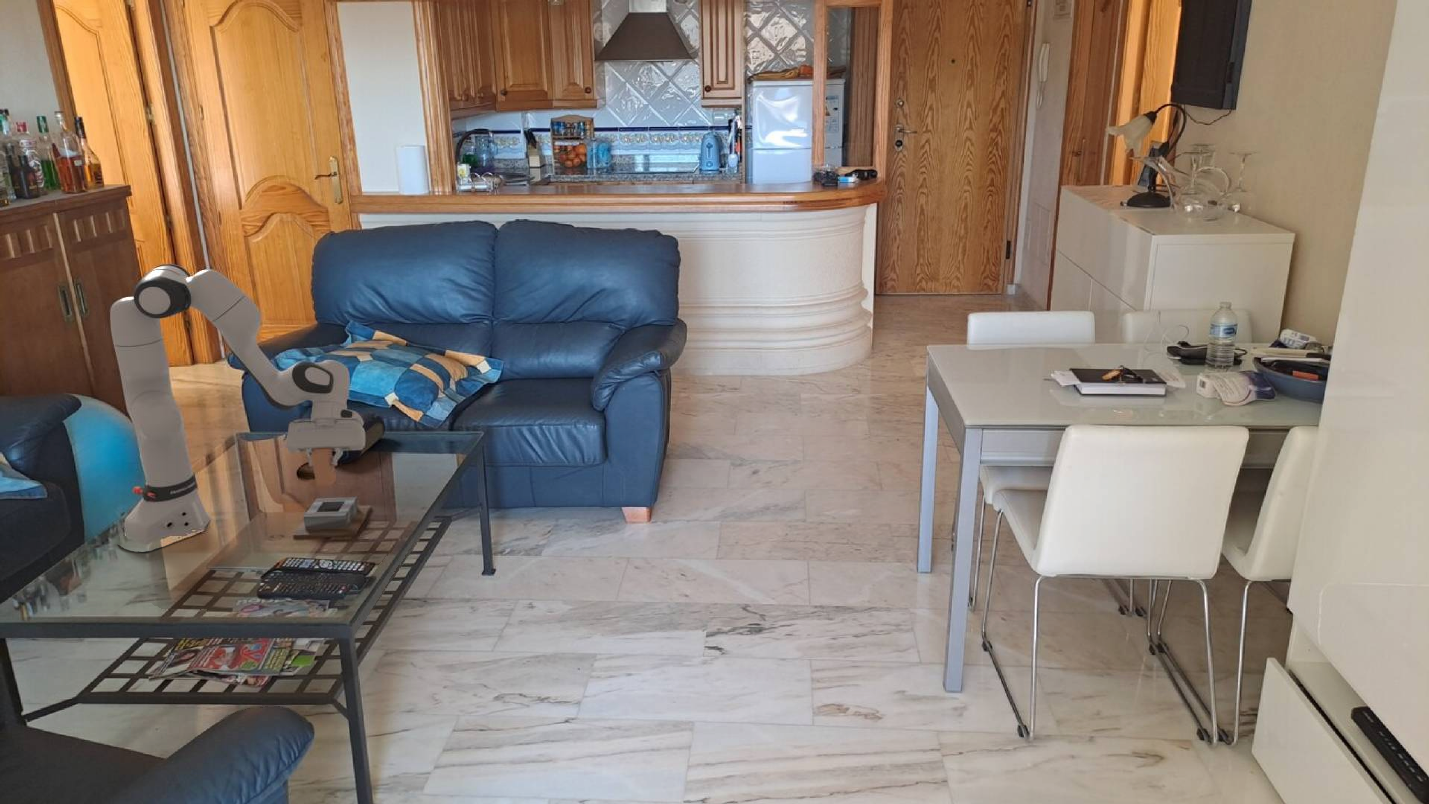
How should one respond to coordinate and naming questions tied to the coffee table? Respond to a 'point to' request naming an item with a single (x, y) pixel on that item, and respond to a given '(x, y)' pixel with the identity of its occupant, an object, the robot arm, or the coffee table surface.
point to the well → (332, 518)
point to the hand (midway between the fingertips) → (322, 465)
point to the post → (323, 467)
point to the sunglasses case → (305, 471)
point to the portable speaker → (373, 433)
